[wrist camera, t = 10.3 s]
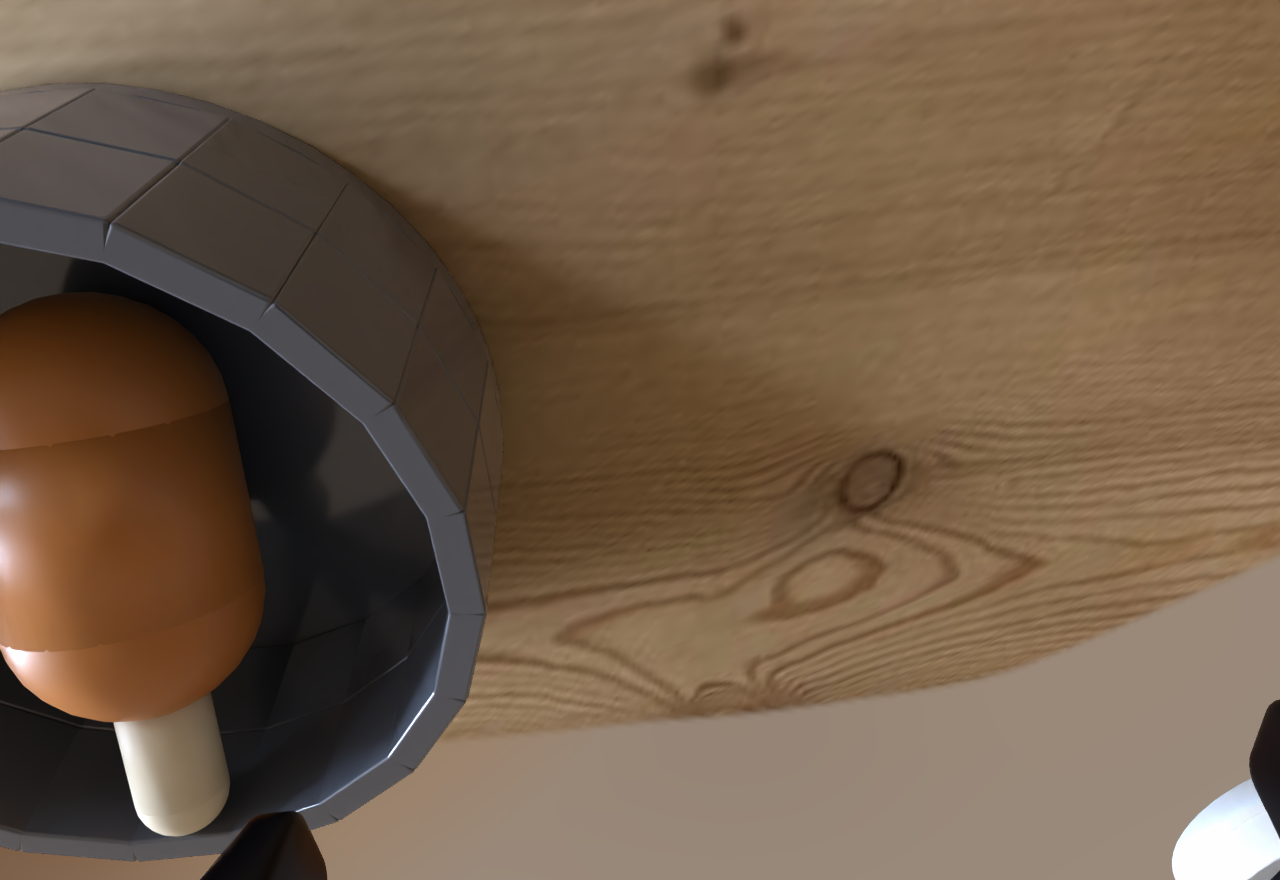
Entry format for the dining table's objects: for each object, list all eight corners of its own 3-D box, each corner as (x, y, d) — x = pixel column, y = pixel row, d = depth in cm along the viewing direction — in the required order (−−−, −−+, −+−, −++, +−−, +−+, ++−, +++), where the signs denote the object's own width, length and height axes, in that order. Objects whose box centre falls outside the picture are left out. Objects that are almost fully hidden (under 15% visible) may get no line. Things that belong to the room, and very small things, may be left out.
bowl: (538, 621, 23) (531, 824, 18) (-4, 672, 22) (-154, 891, 18) (441, 51, 16) (388, 142, 11) (-347, 116, 15) (-738, 238, 11)
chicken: (335, 753, 20) (266, 892, 16) (132, 775, 20) (10, 921, 16) (241, 271, 17) (132, 288, 13) (11, 295, 17) (-169, 319, 13)
